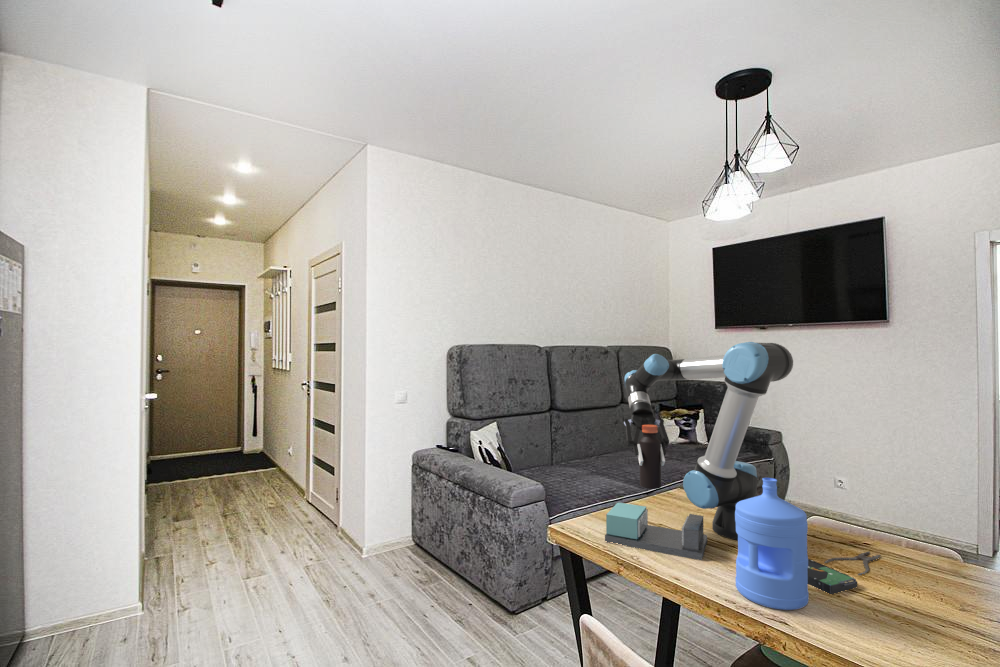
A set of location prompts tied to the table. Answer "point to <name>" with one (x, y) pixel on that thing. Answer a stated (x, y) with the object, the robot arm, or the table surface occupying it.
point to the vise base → (670, 539)
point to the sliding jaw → (626, 520)
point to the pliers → (860, 557)
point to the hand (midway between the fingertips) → (652, 463)
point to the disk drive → (829, 578)
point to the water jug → (772, 550)
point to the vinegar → (650, 458)
